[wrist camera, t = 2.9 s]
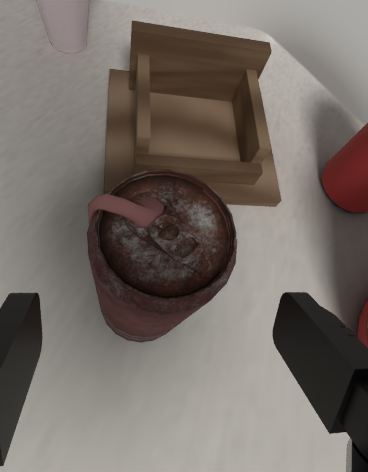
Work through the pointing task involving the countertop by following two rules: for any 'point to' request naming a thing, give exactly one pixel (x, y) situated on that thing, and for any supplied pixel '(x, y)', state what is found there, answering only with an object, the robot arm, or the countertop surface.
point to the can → (158, 251)
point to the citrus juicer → (363, 325)
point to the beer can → (349, 174)
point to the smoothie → (66, 23)
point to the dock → (192, 113)
